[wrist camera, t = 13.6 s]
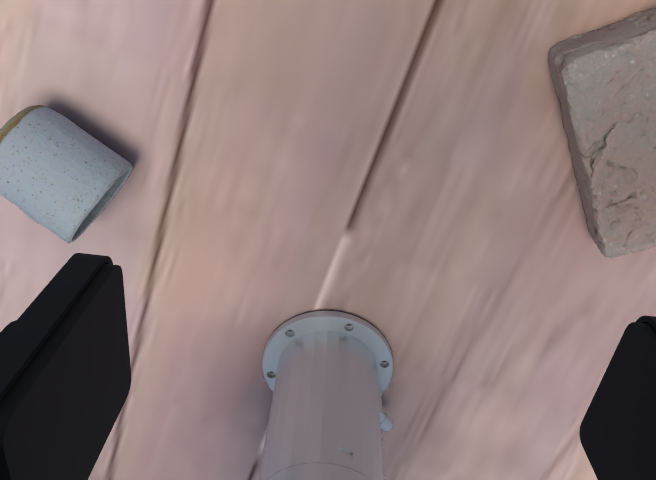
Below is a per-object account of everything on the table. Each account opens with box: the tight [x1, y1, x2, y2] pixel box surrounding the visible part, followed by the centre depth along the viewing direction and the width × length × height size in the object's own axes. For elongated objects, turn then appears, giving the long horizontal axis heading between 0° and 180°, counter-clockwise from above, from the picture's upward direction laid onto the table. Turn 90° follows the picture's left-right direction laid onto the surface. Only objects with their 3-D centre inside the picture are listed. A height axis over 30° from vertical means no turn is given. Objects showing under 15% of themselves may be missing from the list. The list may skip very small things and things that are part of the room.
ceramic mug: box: [0, 105, 133, 243], centre depth 42 cm, size 11×8×8 cm
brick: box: [548, 9, 656, 258], centre depth 40 cm, size 17×8×5 cm, turn 23°
